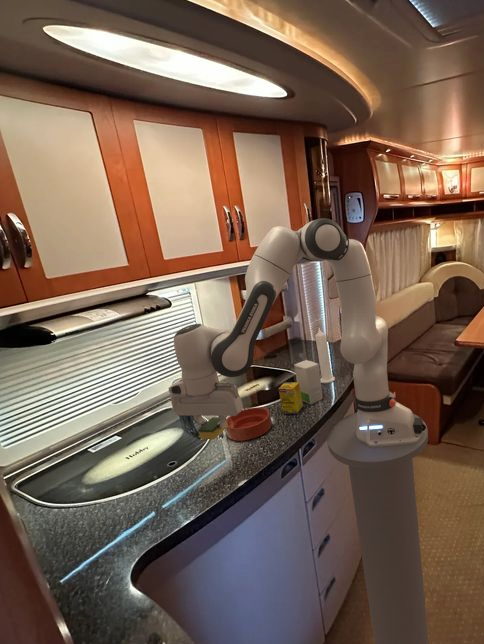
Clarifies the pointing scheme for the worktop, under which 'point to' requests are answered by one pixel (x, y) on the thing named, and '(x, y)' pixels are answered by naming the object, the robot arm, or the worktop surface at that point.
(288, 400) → the supplement box
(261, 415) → the bowl
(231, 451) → the worktop surface
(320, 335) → the candle
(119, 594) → the worktop surface
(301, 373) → the cosmetic box
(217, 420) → the sponge
